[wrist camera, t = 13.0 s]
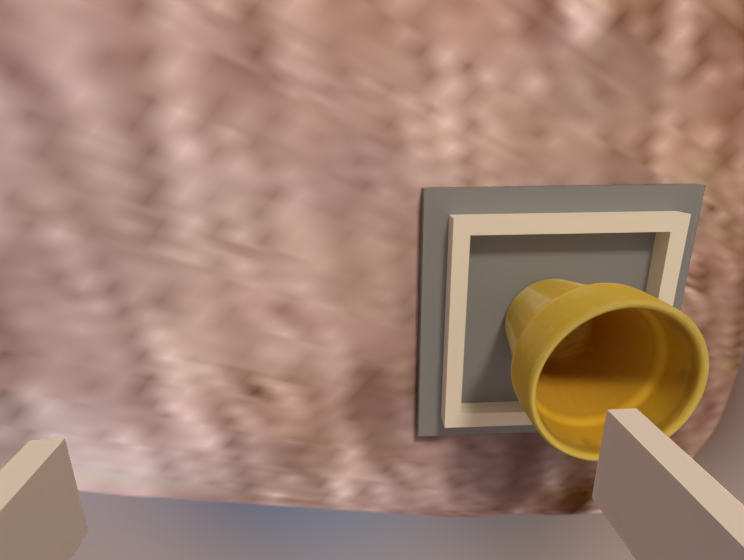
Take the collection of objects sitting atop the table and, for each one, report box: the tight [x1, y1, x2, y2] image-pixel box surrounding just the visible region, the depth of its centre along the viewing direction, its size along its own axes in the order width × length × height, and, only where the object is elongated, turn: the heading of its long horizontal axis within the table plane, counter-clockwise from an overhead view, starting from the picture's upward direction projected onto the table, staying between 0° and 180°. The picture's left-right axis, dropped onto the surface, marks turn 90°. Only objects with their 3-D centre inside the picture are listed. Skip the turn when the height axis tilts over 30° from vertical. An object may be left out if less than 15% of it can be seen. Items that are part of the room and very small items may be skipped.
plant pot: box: [505, 279, 709, 461], centre depth 30 cm, size 10×10×10 cm
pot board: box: [417, 184, 706, 436], centre depth 34 cm, size 20×20×2 cm
